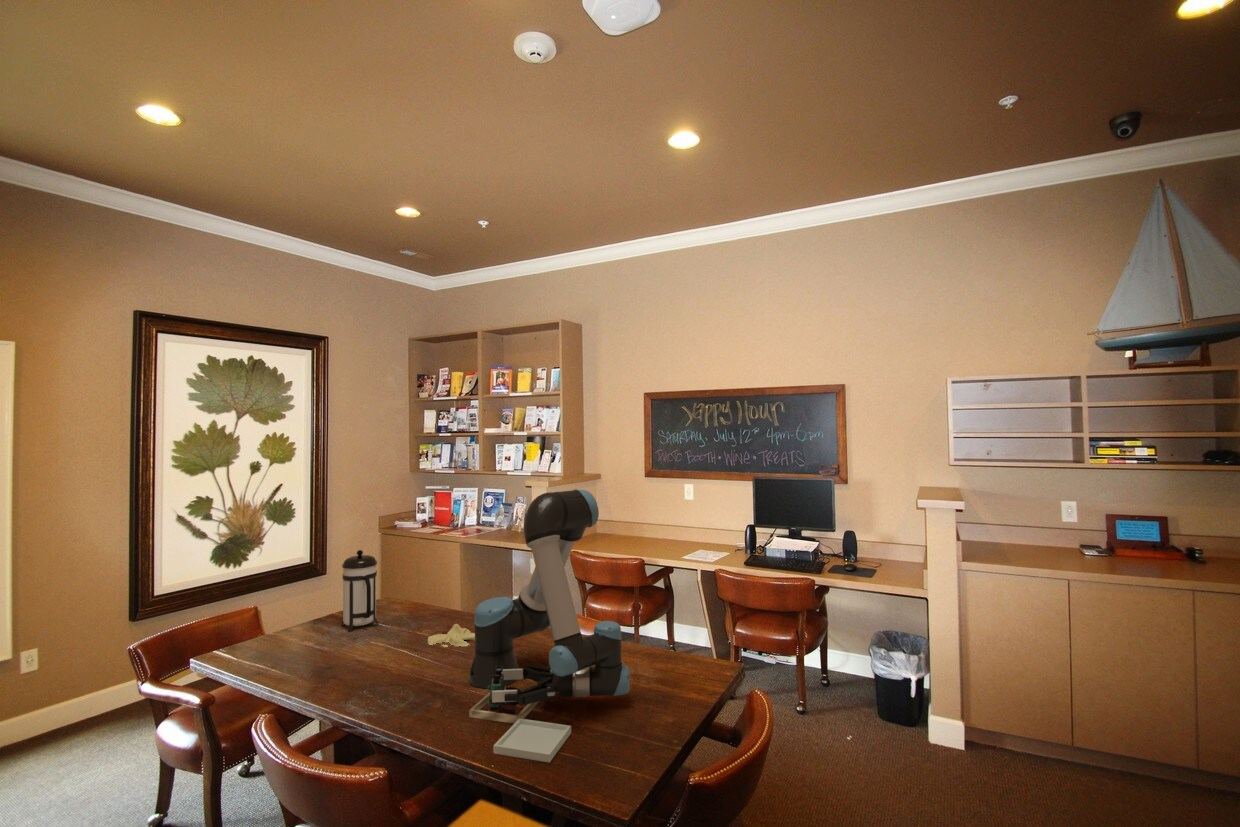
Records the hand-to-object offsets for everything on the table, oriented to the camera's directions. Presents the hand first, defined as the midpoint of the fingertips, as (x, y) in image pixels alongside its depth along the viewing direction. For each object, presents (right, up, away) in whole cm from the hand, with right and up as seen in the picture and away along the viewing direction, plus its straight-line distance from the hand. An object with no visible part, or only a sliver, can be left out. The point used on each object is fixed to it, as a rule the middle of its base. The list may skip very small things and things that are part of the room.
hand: (496, 685), depth 157 cm
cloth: (-26, -10, +54) cm, 60 cm away
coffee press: (-69, -10, +71) cm, 99 cm away
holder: (+3, -6, 0) cm, 7 cm away
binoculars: (+3, -7, 0) cm, 7 cm away
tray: (+13, -6, -18) cm, 23 cm away
